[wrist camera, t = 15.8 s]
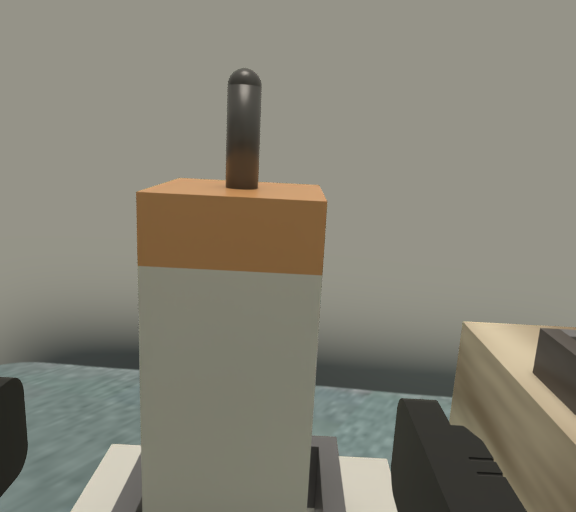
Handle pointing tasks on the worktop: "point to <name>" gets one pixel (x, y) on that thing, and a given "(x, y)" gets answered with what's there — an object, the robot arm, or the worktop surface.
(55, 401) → the worktop surface
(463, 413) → the upper block
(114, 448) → the lower plate
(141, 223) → the plug
